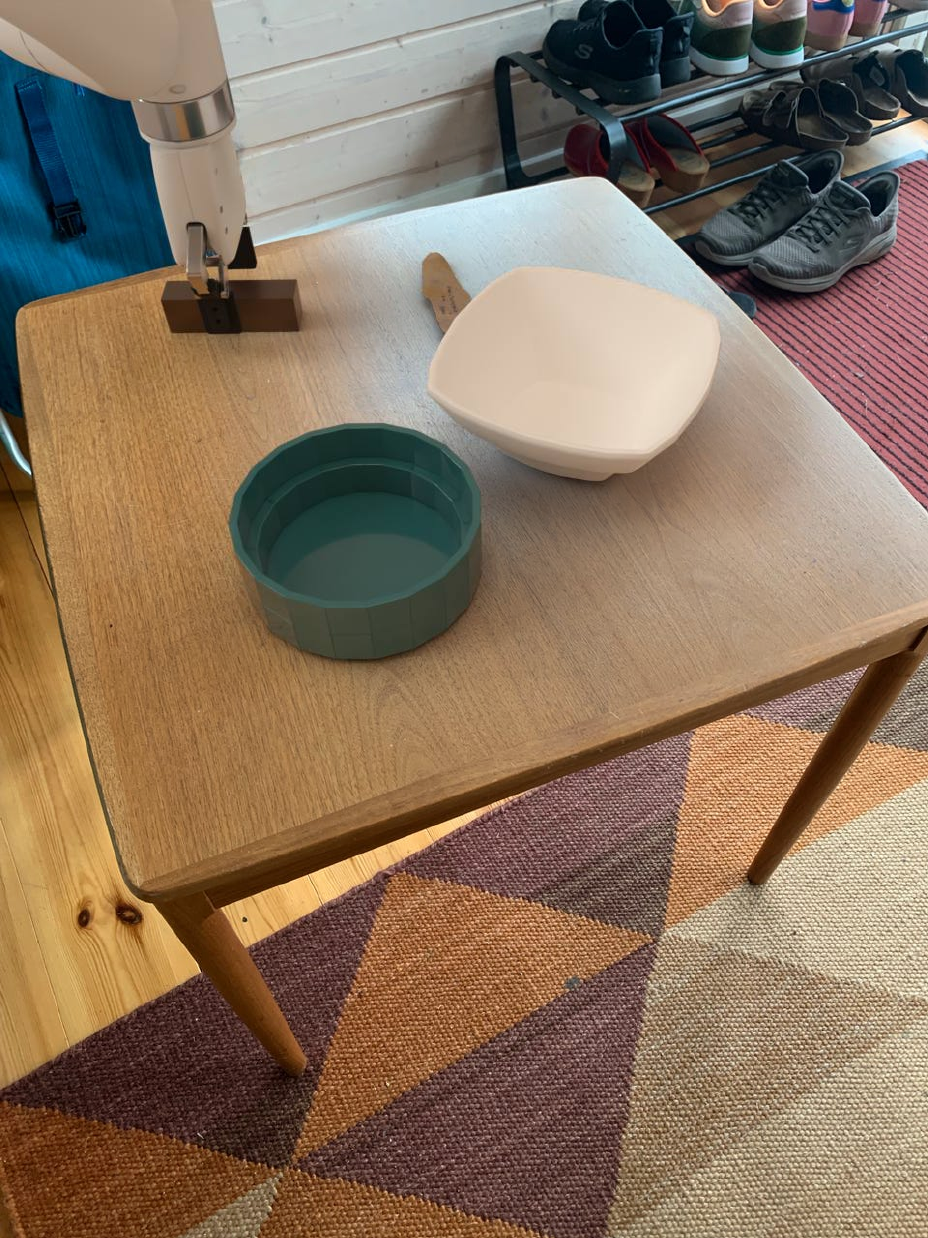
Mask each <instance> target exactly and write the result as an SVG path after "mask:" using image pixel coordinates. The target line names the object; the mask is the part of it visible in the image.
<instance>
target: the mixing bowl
mask: <svg viewBox="0 0 928 1238" xmlns="http://www.w3.org/2000/svg"><path fill="white" fill-rule="evenodd" d="M232 498H233V499H232V504H231V508H230V514H229V518H228V529H229V533H230V538H231V542H232V547H233V550H234V551H233V552H234V555H235V558H236V560H237V563H238V567H239V570H240V573H241V575H242V579H243V582H244V585H245V588H246V591H247V594H248V597H249V600H250V603H251V605H252V607H253V609H254V610H255V612H256V613H257V615H259V617H260V618H261V620H262V622H264V624H265V625H266V627H267V628H268V629H269V630H270V631H271V632H272V633H274V634H275V635H277V636H279V637H280V638H282V639H283V640H284V641H286V642H287V643H289V644H291V645H293V646H294V647H296V648H297V649H299V650H301V651H304V652H308V653H312V654H315V655H319V656H322V657H326V658H330V659H334V660H375V659H376V660H378V659H381V658H385V657H389V656H393V655H397V654H401V653H404V652H407V651H411V650H414V649H416V648H418V647H419V646H421V645H423V644H424V643H426V642H427V641H429V640H431V639H433V638H435V637H436V636H438V635H440V634H441V633H443V632H445V631H446V630H448V629H449V628H450V627H451V625H452V624H454V622H455V621H456V620H457V619H458V618H459V616H461V615H462V613H463V612H464V611H465V610H466V609H467V608H468V607H469V606H470V604H471V602H472V599H473V597H474V594H475V593H476V590H477V587H478V584H479V582H480V579H481V577H482V493H481V490H480V488H479V486H478V484H477V481H476V479H475V477H474V475H473V473H472V471H471V468H470V467H469V465H468V464H467V463H465V461H464V460H463V459H462V458H461V457H460V456H459V455H457V453H456V452H454V450H452V449H451V448H450V447H449V446H448V445H447V444H445V443H443V442H441V441H439V440H437V439H435V438H433V437H432V436H429V435H427V434H425V433H423V432H421V431H419V430H417V429H414V428H408V427H405V426H399V425H395V424H390V423H386V422H346V423H341V424H336V425H332V426H328V427H323V428H318V429H314V430H310V431H307V432H305V433H303V434H301V435H299V436H297V437H295V438H293V439H291V440H288V441H286V442H284V443H282V444H279V445H278V446H276V447H275V448H274V449H273V450H272V451H270V452H269V453H268V454H267V455H265V456H264V457H263V458H262V459H261V460H259V461H258V462H257V463H256V464H255V465H253V466H252V467H251V468H250V470H249V472H248V473H247V475H246V476H245V478H244V479H243V480H242V482H241V483H240V485H239V487H238V488H237V490H235V493H234V495H233V497H232Z"/></svg>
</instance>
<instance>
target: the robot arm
mask: <svg viewBox="0 0 928 1238" xmlns="http://www.w3.org/2000/svg"><path fill="white" fill-rule="evenodd" d="M0 51H2V52H3V53H5V54H6V55H7V56H9V57H10V58H12V59H14V60H15V61H18V62H20V63H22V64H23V65H26V66H29V67H32V68H34V69H37V70H39V71H41V72H44V73H47V74H49V75H52V76H54V77H57V78H60V79H64V80H67V81H69V82H72V83H75V84H77V85H80V86H82V87H85V88H87V89H89V90H92V91H95V92H97V93H99V94H102V95H105V96H106V97H109V98H113V99H116V100H120V101H129V102H130V103H131V107H132V110H133V113H134V118H135V120H136V123H137V127H138V131H139V134H140V136H141V138H142V139H143V140H144V141H145V142H147V143H149V151H150V161H151V166H152V171H153V177H154V182H155V187H156V193H157V197H158V201H159V205H160V206H159V207H160V209H161V213H162V217H163V221H164V226H165V229H166V233H167V237H168V241H169V245H170V248H171V253H172V256H173V259H174V262H175V263H176V265H177V266H179V267H180V268H181V267H182V268H184V267H185V266H186V269H185V271H186V277H187V281H189V282H190V283H191V285H192V287H191V290H193V292H194V296H195V299H197V303H198V306H199V309H200V313H201V316H202V320H203V323H204V326H205V330H206V332H205V333H207V334H208V335H239V334H240V335H241V333H243V332H242V328H243V326H242V322H241V318H240V314H239V310H238V306H237V303H236V299H235V295H234V291H229V281H228V280H229V270H255V269H256V268H257V267H258V258H257V255H256V250H255V245H254V240H253V236H252V232H251V227H250V226H248V213H247V199H246V198H247V197H246V191H245V186H244V181H243V176H242V172H241V167H240V164H239V160H238V155H237V152H236V148H235V143H234V140H233V136H232V133H231V132H232V131H233V130H234V129H235V127H236V125H237V121H238V117H237V113H236V108H235V104H234V103H235V102H234V99H233V94H232V90H231V86H230V85H231V84H230V80H229V76H228V71H227V66H226V62H225V58H224V53H223V48H222V43H221V39H220V33H219V29H218V25H217V20H216V16H215V11H214V6H213V1H212V0H0ZM208 252H215V253H216V255H217V256H218V257H207V255H208V254H207V253H208ZM207 268H217V274H218V280H219V282H217V281H216V280H217V279H215V278H210V275H209V272H208V269H207Z"/></svg>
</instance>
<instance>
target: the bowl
mask: <svg viewBox="0 0 928 1238" xmlns="http://www.w3.org/2000/svg"><path fill="white" fill-rule="evenodd" d="M722 345H723V341H722V335H721V329H720V324H719V320H718V318H717V316H716V315H715V314H714V313H711V312H710V311H708V310H706V309H704V308H702V307H701V306H698V305H697V304H695V303H694V302H692V301H689V300H687V299H686V298H685V299H684V298H682V297H680V296H677V295H674V294H671V293H669V292H666V291H663V290H660V289H658V288H654V287H650V286H647V285H643V284H641V283H637V282H634V281H631V280H627V279H624V278H620V277H614V276H609V275H605V274H600V273H594V272H590V271H586V270H585V271H584V270H579V269H571V268H565V267H564V268H563V267H557V266H535V265H533V266H532V265H529V266H528V265H527V266H526V265H521V266H516V267H514V268H512V269H510V270H509V271H507V272H505V273H503V274H502V275H500V276H498V277H497V278H495V279H493V280H492V281H491V282H490V283H489V284H488V285H487V286H485V287H484V288H483V289H482V290H481V291H480V292H479V293H477V294H476V295H475V296H474V297H473V298H471V302H470V303H469V304H468V305H467V306H466V307H465V308H464V309H463V310H462V311H461V313H460V314H459V315H458V316H457V317H456V318H455V319H454V321H453V323H452V324H451V326H450V327H449V329H448V331H447V332H446V333H445V334H444V335H443V337H442V339H441V340H440V342H439V344H438V347H437V349H436V351H435V353H434V355H433V357H432V359H431V362H430V364H429V365H428V366H429V367H428V376H427V384H426V389H427V395H428V396H429V397H430V399H432V400H433V401H434V403H436V405H438V406H439V407H440V408H441V409H442V410H443V411H444V413H445V414H447V415H448V416H449V417H450V418H451V419H452V421H454V422H455V423H457V425H459V426H460V427H462V428H463V429H465V430H466V431H467V432H469V433H470V434H472V435H474V436H476V437H478V438H480V439H482V440H484V441H485V442H488V443H490V444H492V445H493V446H494V447H495V448H496V449H497V450H498V451H499V452H501V453H502V454H504V455H505V456H508V457H510V458H511V459H514V460H515V461H518V462H520V463H521V464H524V465H525V466H529V467H531V468H532V469H536V470H538V471H541V472H544V473H548V474H551V475H554V476H555V475H556V476H559V477H565V478H572V479H578V480H584V481H590V482H602V481H605V480H607V479H608V478H609V477H611V476H612V475H613V474H631V473H634V472H635V471H637V470H639V469H641V468H642V467H643V466H644V465H646V464H647V463H649V462H650V461H651V460H652V459H654V458H655V457H656V456H658V455H659V454H660V453H662V452H663V451H665V450H666V449H667V448H669V447H670V446H671V445H673V444H674V443H676V442H677V440H678V439H679V438H680V436H681V435H682V434H683V432H684V431H685V430H686V429H687V428H688V427H689V426H690V424H691V422H692V421H693V420H694V419H695V417H696V416H697V415H698V413H699V411H700V409H701V408H702V406H703V405H704V403H705V401H706V400H707V398H708V396H709V395H710V392H711V388H712V387H713V383H714V380H715V378H716V374H717V370H718V367H719V360H720V357H721V350H722Z"/></svg>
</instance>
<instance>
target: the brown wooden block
mask: <svg viewBox="0 0 928 1238" xmlns="http://www.w3.org/2000/svg"><path fill="white" fill-rule="evenodd" d="M215 280H216V281H217V282H219V279H215ZM228 281H229V291H234V295H235V299H236V303H237V306H238V310H239V314H240V318H241V322H242V326H243V328H242V332H241V333H243V332H244V333H246V332H249V333H250V332H253V333H254V332H300V329H301V322H302V317H303V306H302V301H301V300H302V299H301V295H300V291H299V285H298V280H297V279H296V278H291V279H290V278H289V279H288V278H284V279H228ZM191 287H192V285H191V283H190V282H189V280H166V282H165V285H164V288H163V291H162V294H161V297H160V303H161V306H162V309H163V313H164V315H165V318H166V322H167V325H168V328H169V331H170V333H207V332H206V330H205V326H204V323H203V320H202V316H201V313H200V309H199V306H198V303H197V299H195V296H194V292H193V290H191Z"/></svg>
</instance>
